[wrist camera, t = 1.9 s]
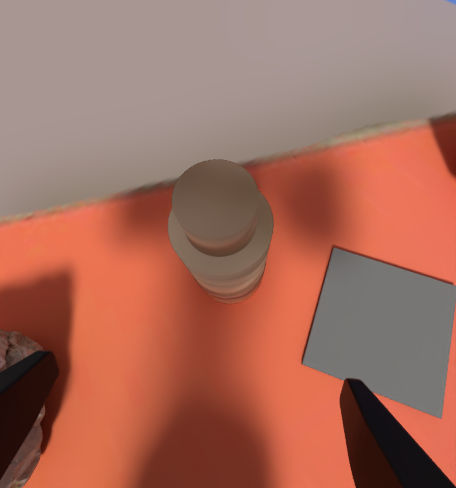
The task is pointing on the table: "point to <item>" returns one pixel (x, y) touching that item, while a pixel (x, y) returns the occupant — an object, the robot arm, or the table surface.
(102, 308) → the table surface
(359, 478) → the robot arm
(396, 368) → the mat
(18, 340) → the rock
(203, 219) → the skittle
